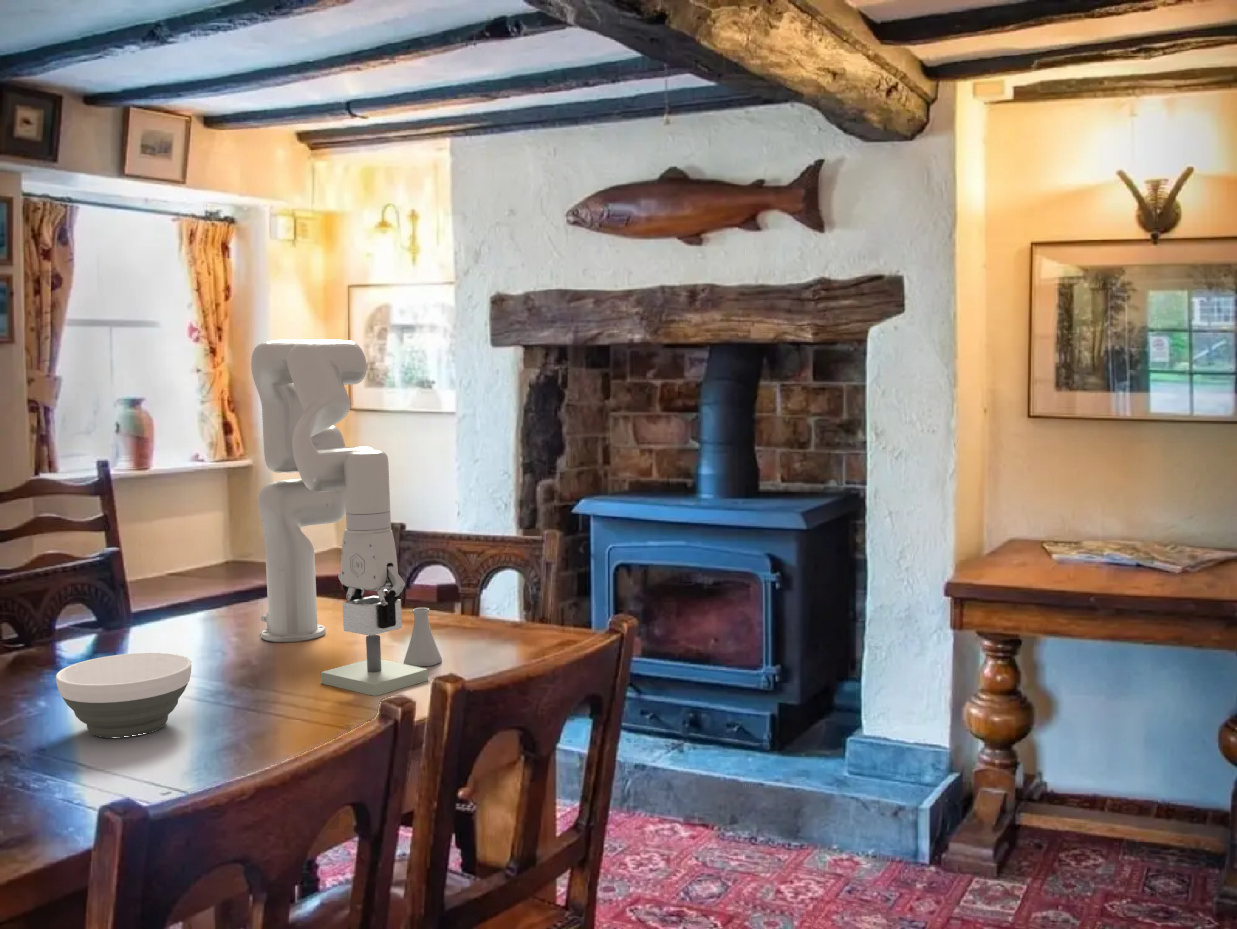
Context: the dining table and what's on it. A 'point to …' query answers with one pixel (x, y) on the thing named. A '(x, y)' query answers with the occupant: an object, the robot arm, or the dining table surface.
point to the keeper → (374, 673)
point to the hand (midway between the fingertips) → (372, 623)
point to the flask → (422, 642)
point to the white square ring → (367, 616)
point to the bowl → (124, 691)
